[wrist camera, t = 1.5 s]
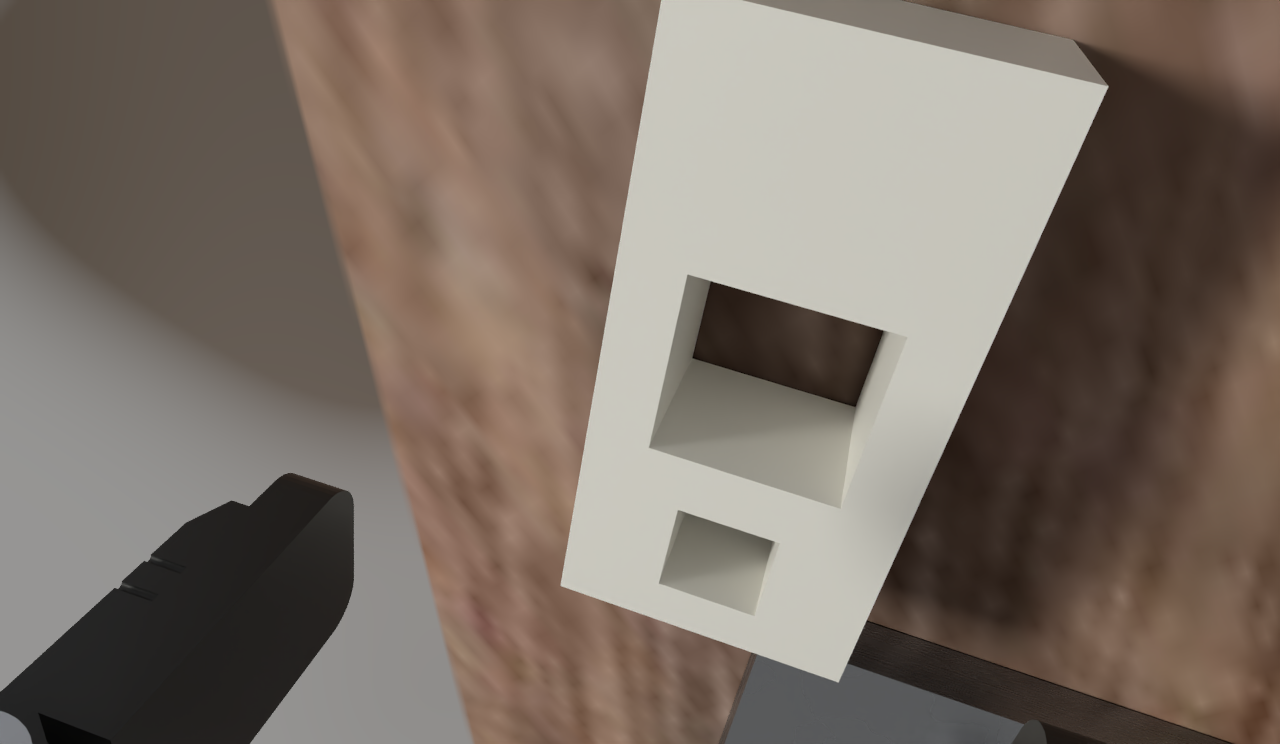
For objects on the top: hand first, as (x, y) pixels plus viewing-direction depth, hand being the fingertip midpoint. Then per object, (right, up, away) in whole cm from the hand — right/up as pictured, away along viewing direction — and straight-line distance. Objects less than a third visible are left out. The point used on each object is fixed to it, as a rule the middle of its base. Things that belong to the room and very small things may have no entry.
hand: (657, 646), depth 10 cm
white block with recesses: (+3, +4, +8) cm, 9 cm away
